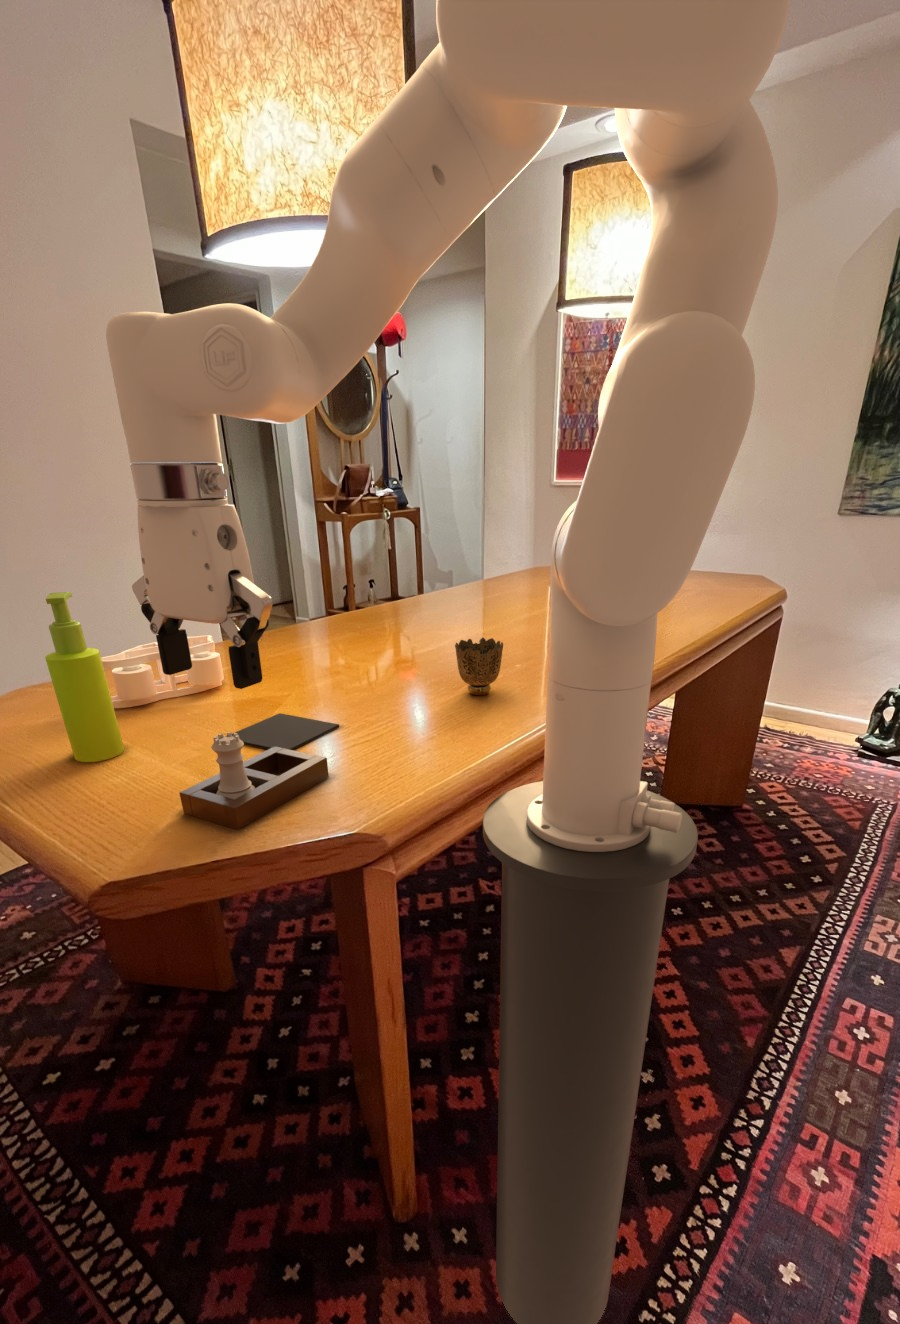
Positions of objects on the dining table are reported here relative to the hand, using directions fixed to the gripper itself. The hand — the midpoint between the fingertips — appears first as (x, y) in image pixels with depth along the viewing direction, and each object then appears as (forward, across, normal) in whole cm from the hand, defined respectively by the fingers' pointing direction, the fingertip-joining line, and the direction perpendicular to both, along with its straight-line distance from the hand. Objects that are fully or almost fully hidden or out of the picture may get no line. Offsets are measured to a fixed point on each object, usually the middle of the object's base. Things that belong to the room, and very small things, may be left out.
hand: (212, 678), depth 67 cm
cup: (+14, -6, -47) cm, 50 cm away
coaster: (+14, +10, -19) cm, 26 cm away
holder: (+14, -1, -3) cm, 15 cm away
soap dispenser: (+15, +27, -3) cm, 31 cm away
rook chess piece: (+14, -1, 0) cm, 14 cm away
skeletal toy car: (+15, +40, -25) cm, 50 cm away
